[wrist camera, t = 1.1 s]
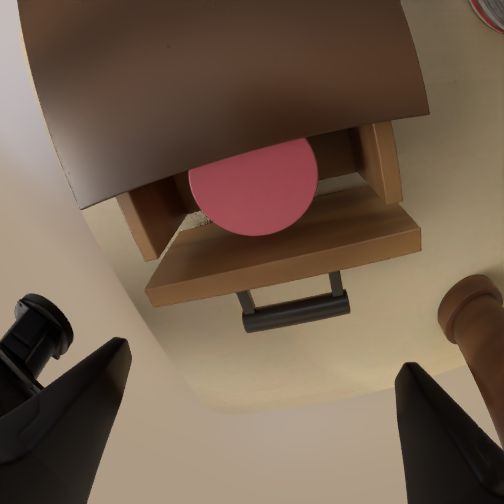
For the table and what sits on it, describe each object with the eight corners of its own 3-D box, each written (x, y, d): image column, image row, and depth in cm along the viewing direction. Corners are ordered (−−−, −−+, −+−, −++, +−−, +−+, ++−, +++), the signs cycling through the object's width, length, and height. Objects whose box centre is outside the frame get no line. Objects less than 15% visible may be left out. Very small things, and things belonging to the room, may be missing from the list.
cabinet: (368, 103, 17) (431, 114, 9) (149, 163, 20) (80, 211, 12) (313, -55, 12) (332, -126, 4) (100, 17, 15) (15, -3, 7)
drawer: (387, 256, 21) (420, 318, 15) (207, 294, 23) (186, 362, 17) (344, 36, 14) (379, 10, 8) (129, 101, 17) (66, 113, 11)
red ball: (273, 215, 19) (272, 257, 14) (194, 169, 18) (167, 197, 13) (326, 141, 16) (344, 160, 12) (242, 89, 15) (228, 87, 11)
